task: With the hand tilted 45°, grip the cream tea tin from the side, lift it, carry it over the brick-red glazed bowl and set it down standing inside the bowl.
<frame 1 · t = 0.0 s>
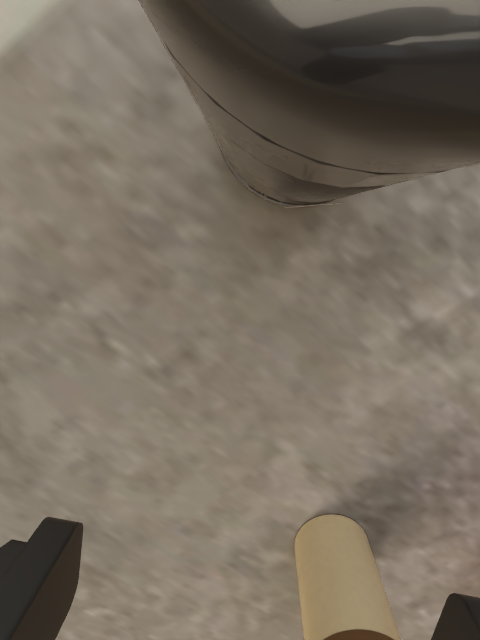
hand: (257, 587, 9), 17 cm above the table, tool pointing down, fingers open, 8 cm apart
tea tin: (330, 544, 29), on the table
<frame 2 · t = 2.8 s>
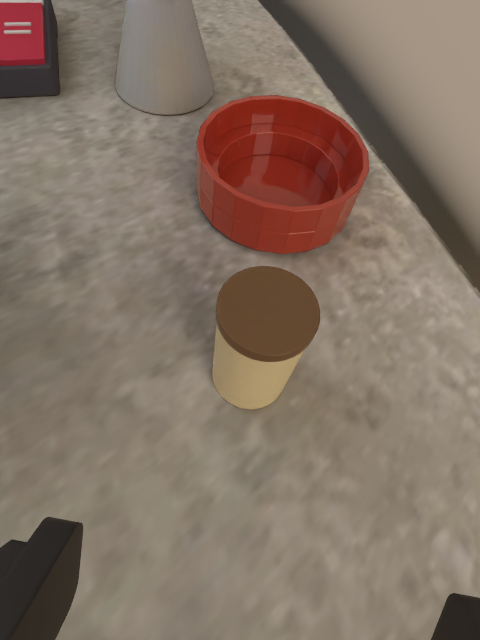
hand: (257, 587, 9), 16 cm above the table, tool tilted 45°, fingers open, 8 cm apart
bowl: (273, 198, 37), on the table
tea tin: (248, 373, 28), on the table
lamp: (165, 87, 45), on the table
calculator: (6, 59, 44), on the table
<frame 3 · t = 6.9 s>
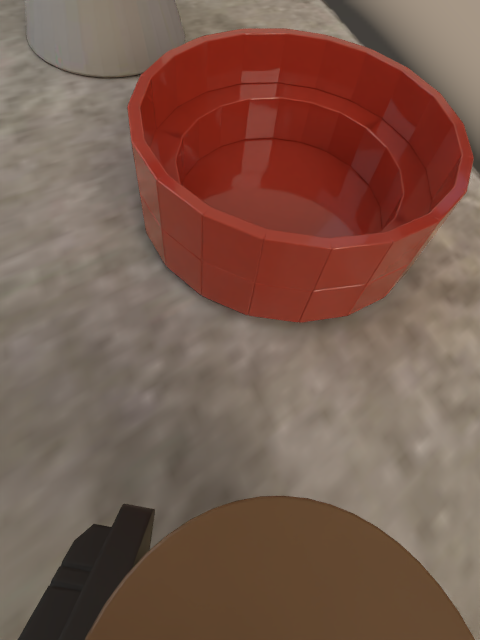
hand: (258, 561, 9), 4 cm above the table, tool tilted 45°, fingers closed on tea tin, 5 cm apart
bowl: (279, 212, 21), on the table
tea tin: (231, 626, 12), on the table, touching gripper
lamp: (109, 38, 29), on the table
when the fingers open (5 cm above the table, at t = 15.6 s): tea tin stays where it is, resting on bowl.
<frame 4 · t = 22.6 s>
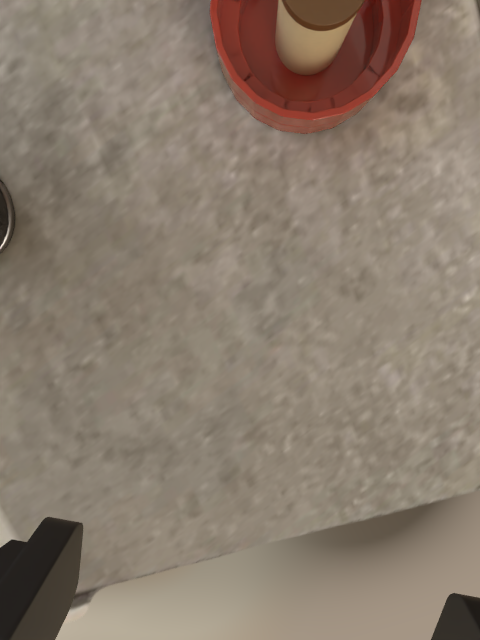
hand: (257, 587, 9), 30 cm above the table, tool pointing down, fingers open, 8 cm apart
bowl: (305, 40, 32), on the table
tea tin: (308, 38, 32), point 1 cm above the table, touching bowl
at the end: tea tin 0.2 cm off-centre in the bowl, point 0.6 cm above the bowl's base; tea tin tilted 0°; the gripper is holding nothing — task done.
